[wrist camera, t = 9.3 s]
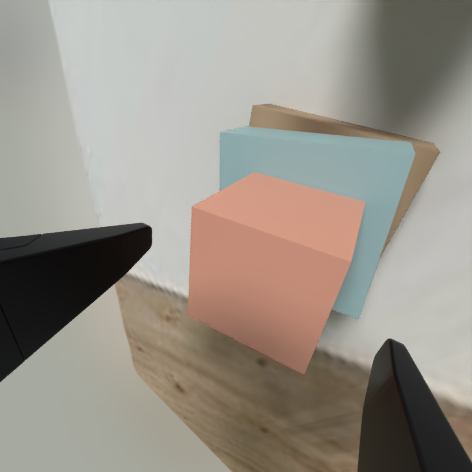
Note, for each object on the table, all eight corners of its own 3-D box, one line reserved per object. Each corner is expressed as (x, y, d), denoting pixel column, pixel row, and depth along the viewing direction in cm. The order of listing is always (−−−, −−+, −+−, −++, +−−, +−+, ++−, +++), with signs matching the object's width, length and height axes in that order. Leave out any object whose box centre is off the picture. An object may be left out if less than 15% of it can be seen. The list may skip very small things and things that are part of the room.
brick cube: (365, 202, 11) (351, 261, 7) (329, 293, 13) (303, 375, 10) (254, 172, 13) (191, 206, 9) (240, 258, 15) (188, 315, 11)
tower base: (432, 142, 14) (440, 151, 12) (360, 273, 19) (355, 299, 16) (272, 103, 17) (252, 105, 14) (246, 226, 22) (228, 242, 19)
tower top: (410, 142, 12) (415, 153, 10) (363, 285, 16) (358, 319, 13) (247, 126, 15) (220, 132, 13) (241, 249, 19) (219, 271, 16)
